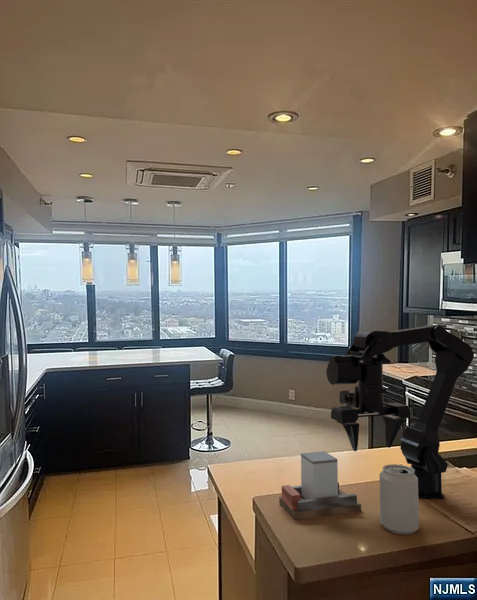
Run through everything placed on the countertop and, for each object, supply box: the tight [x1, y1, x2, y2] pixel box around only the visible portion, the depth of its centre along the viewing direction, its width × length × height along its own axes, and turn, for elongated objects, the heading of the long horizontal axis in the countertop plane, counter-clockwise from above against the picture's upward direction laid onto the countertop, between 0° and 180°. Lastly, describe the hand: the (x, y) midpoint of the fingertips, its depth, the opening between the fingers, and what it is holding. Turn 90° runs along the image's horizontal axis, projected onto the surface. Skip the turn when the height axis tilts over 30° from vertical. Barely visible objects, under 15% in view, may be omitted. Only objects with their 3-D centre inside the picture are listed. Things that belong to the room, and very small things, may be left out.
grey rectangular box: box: [300, 451, 339, 500], centre depth 100 cm, size 6×6×10 cm
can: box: [379, 463, 420, 535], centre depth 90 cm, size 8×8×12 cm
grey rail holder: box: [278, 482, 362, 521], centre depth 100 cm, size 16×9×4 cm, turn 106°
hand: (371, 449), depth 104 cm, fingers open, 9 cm apart
